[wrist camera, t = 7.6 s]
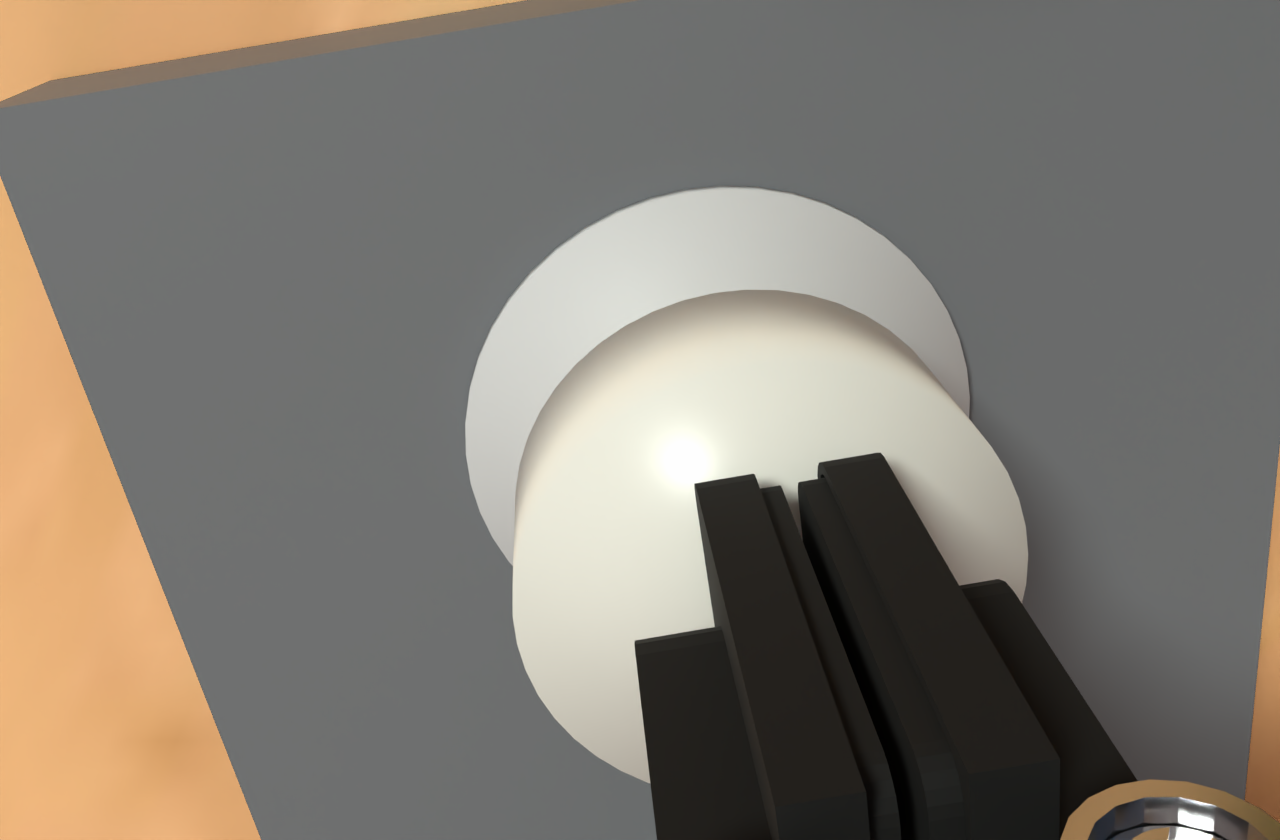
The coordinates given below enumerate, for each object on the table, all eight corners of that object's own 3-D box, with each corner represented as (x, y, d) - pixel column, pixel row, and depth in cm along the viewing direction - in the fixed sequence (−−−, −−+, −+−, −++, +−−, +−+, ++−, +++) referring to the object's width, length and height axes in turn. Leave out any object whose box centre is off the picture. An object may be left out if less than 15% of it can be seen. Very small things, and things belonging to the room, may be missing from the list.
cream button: (925, 223, 12) (1026, 313, 10) (942, 599, 14) (1029, 754, 12) (476, 300, 12) (461, 411, 10) (557, 665, 14) (562, 835, 12)
